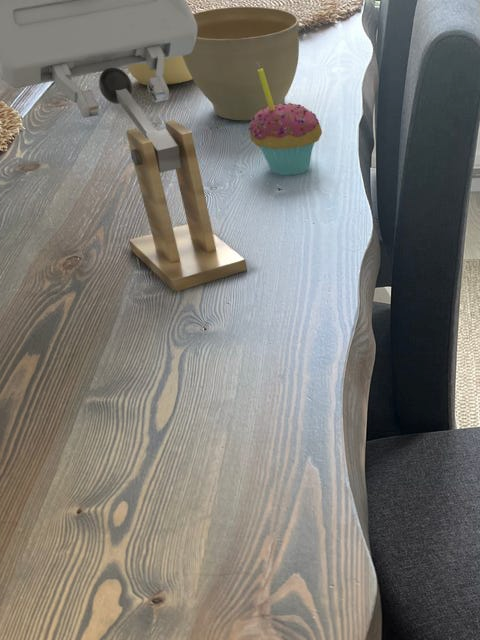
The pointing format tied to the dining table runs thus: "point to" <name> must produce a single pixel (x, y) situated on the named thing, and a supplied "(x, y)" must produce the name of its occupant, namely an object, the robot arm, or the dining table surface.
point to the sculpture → (172, 71)
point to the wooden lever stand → (187, 240)
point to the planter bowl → (244, 58)
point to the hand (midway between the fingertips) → (127, 105)
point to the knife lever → (139, 117)
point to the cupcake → (284, 134)
